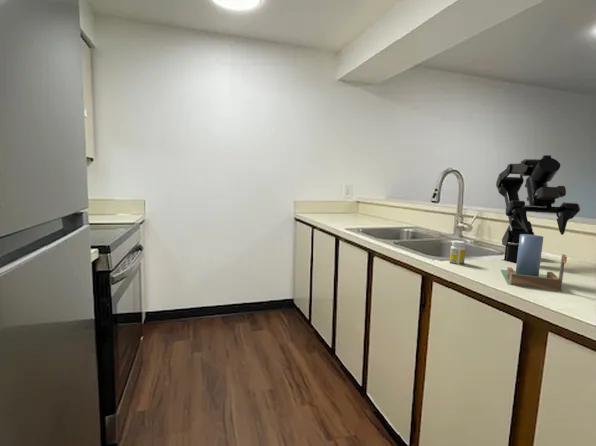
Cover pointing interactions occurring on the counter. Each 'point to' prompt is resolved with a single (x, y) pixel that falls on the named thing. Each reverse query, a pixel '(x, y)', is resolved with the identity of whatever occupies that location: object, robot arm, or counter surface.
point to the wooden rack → (538, 278)
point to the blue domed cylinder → (529, 255)
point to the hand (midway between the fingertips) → (545, 233)
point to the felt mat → (521, 286)
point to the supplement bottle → (457, 253)
